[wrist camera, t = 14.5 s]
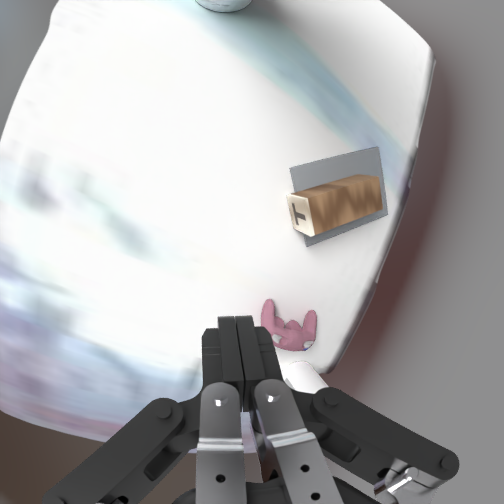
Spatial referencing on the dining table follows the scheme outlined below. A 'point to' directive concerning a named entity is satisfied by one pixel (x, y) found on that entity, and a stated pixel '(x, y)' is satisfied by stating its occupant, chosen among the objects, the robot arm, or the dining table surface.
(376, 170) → the rubber mat
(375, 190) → the walnut block
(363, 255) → the dining table surface
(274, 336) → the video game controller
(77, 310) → the dining table surface
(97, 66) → the dining table surface
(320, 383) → the spray bottle
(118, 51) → the dining table surface
